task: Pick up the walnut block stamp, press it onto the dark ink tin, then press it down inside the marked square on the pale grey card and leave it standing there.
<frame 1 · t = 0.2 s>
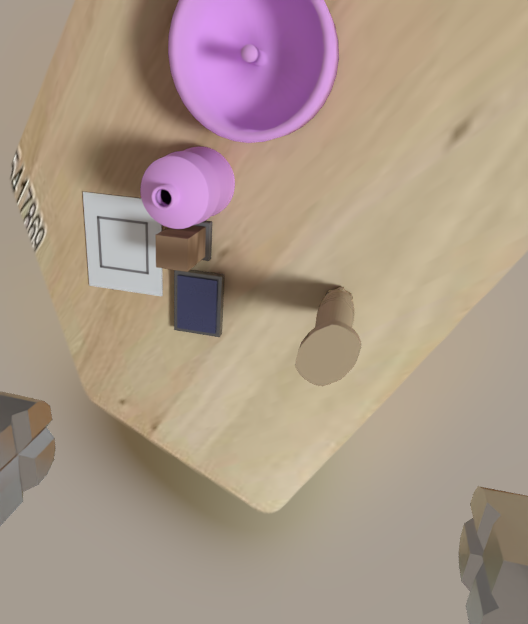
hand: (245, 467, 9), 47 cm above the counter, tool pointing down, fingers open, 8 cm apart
container set: (242, 105, 52), on the counter
ink tin: (200, 301, 62), on the counter
stamp: (193, 238, 59), on the counter
card: (124, 245, 61), on the counter
handle: (339, 298, 58), on the counter
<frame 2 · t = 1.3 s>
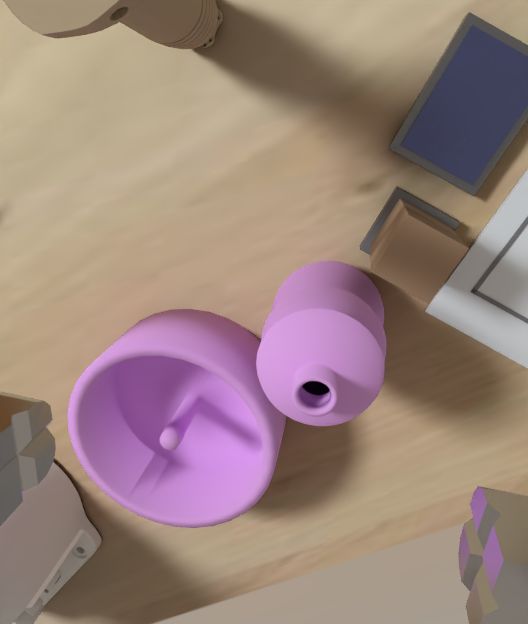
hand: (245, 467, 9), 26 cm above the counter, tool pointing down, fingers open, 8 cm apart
container set: (240, 364, 39), on the counter
ink tin: (468, 109, 29), on the counter
stamp: (407, 233, 33), on the counter
handle: (199, 22, 31), on the counter
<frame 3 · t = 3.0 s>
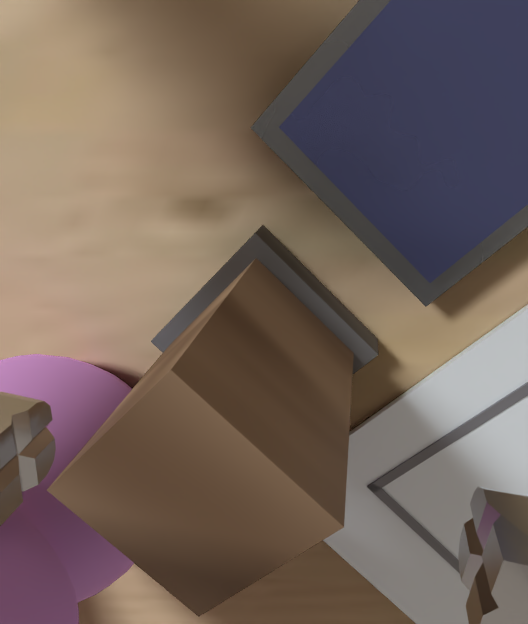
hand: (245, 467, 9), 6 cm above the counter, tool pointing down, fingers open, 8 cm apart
ink tin: (473, 86, 11), on the counter
stamp: (266, 332, 14), on the counter
card: (526, 498, 15), on the counter
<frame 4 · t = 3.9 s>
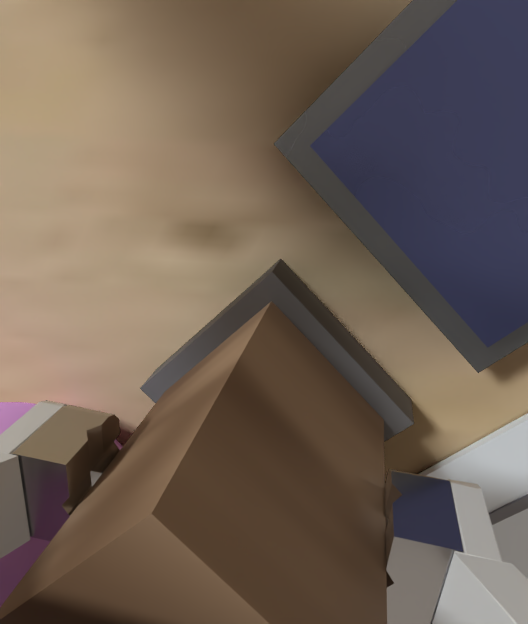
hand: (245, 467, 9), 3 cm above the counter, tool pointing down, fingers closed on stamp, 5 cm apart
stamp: (277, 383, 12), on the counter, touching gripper
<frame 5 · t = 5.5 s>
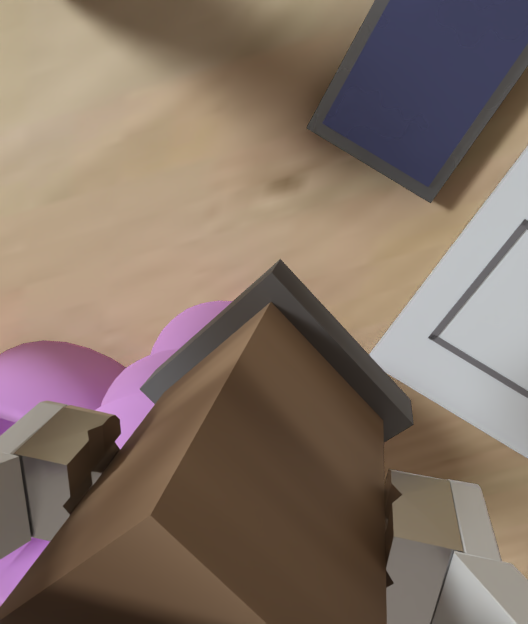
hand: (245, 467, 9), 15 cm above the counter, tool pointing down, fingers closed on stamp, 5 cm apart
container set: (131, 415, 30), on the counter
ink tin: (425, 72, 19), on the counter
stamp: (277, 383, 12), point 12 cm above the counter, touching gripper
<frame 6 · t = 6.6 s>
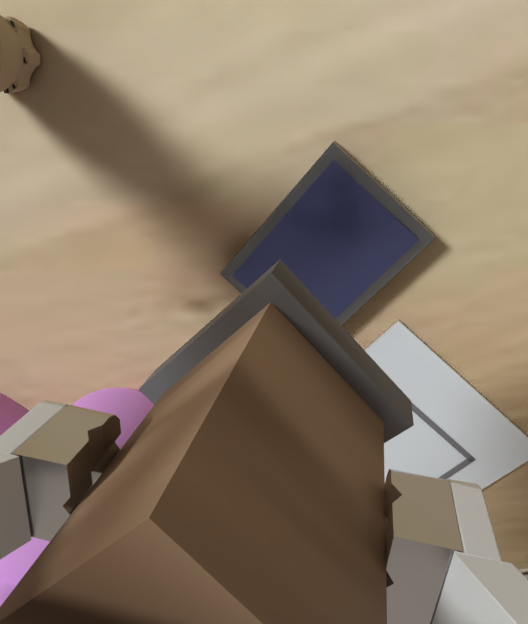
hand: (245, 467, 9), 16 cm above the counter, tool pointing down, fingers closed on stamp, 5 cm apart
container set: (36, 456, 33), on the counter
ink tin: (323, 251, 24), on the counter
stamp: (276, 384, 12), point 13 cm above the counter, touching gripper
card: (383, 451, 27), on the counter
handle: (15, 55, 23), on the counter
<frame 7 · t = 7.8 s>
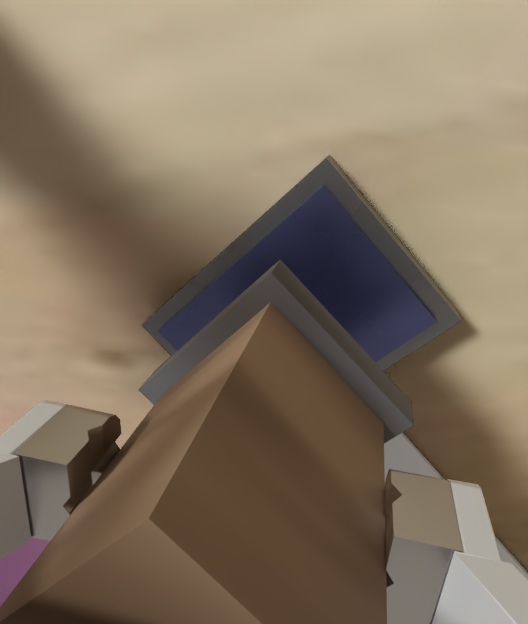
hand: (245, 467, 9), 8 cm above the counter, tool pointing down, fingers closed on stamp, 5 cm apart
ink tin: (294, 311, 16), on the counter
stamp: (276, 384, 12), point 5 cm above the counter, touching gripper
card: (345, 575, 20), on the counter
when the fingers open (3 cm above the counter, at t = 13.6 s): stamp stays where it is, resting on card.
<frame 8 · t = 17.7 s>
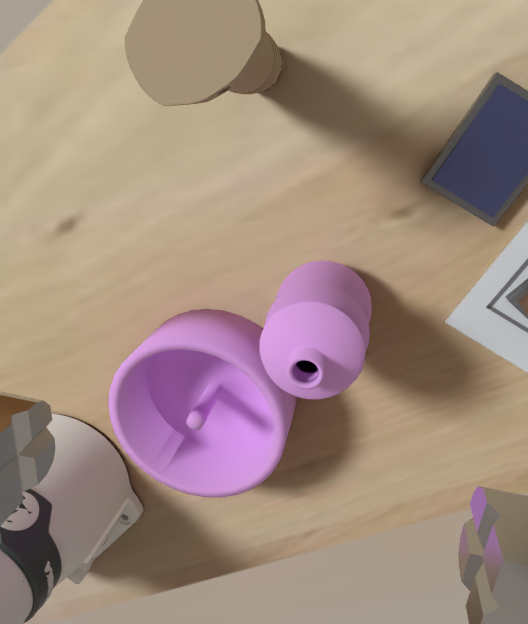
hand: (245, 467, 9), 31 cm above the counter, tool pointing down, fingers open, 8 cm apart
container set: (253, 354, 45), on the counter
ink tin: (492, 152, 34), on the counter
handle: (263, 66, 35), on the counter
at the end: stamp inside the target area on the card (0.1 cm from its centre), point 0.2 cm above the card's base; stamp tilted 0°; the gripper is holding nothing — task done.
